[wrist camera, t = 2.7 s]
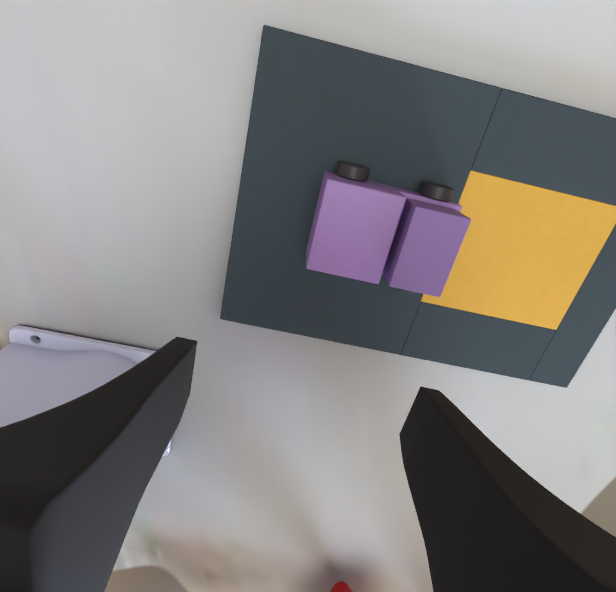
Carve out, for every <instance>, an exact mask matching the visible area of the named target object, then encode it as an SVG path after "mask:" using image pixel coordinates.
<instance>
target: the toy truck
mask: <svg viewBox="0 0 616 592" xmlns="http://www.w3.org/2000/svg"><path fill="white" fill-rule="evenodd" d="M369 173H370V169H369V168H368V167H365V166H362V165H358V164H355V163H350V162H346V161H338V163H337V167H336V172H335V173H334V172H330V171H325V172H324V175H323V180H322V184H321V188H320V193H319V197H318V201H317V205H316V210H315V214H314V218H313V223H312V227H311V231H310V236H309V240H308V244H307V249H306V268H307V269H309V270H314V271H316V272H318V273H320V274H323V275H327V276H342V277H347V278H352V279H356V280H361V281H366V282H370V283H375V284H379V282H380V279H381V275H382V274H383V275H384V277H385V279H386V281H387V283H388V285H389V286H390V287H393V288H395V289H397V290H400V291H402V292H407V293H416V292H418V293H423V294H427V295H432V296H437V297H440V296H441V294H442V291H443V289H444V287H445V284H446V282H447V279H448V277H449V274H450V272H451V269H452V267H453V264H454V262H455V259H456V257H457V254H458V252H459V249H460V247H461V244H462V242H463V239H464V237H465V234H466V232H467V229H468V227H469V224H470V222H471V219H470V218H469V217H467V216H465V215H464V214H462V213H460V211H461V209H462V206H461V205H459V204H458V203H456V202H454V201H452V200H451V199H452V197H453V194H454V191H455V189H453V188H451V187H448V186H445V185H442V184H438V183H434V182H429V181H423V182H422V184H421V187H420V190H419V192H415V191H411V190H406V189H402V188H398V187H394V186H389V185H385V184H381V183H377V182H372V181H368V176H369Z"/></svg>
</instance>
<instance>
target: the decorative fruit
mask: <svg viewBox="0 0 616 592" xmlns="http://www.w3.org/2000/svg"><path fill="white" fill-rule="evenodd" d="M331 592H352V591H351V589H350V588H349V586H348V585H347V584H346V583H345V582H341V581H340V582H337V583H336V584H335V585H334V586H333V588H332V590H331Z"/></svg>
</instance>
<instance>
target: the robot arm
mask: <svg viewBox="0 0 616 592" xmlns="http://www.w3.org/2000/svg"><path fill="white" fill-rule="evenodd" d="M36 336H38V337H39V338H40V340H39V339H37V338H36ZM9 342H10V343H9V344H8V345H6V346H5V347H4V348H2V349H1V350H0V592H104V591H105V588H106V586H107V583H108V580H109V578H110V575H111V573H112V570H113V567H114V565H115V562H116V560H117V557H118V554H119V552H120V549H121V547H122V544H123V541H124V539H125V536H126V534H127V531H128V529H129V526H130V524H131V521H132V519H133V516H134V514H135V511H136V509H137V506H138V504H139V502H140V500H141V497H142V495H143V493H144V491H145V489H146V487H147V485H148V483H149V481H150V479H151V477H152V475H153V473H154V471H155V469H156V467H157V465H158V463H159V461H160V459H161V458H162V457H164V456H167V455H168V453H169V451H170V447H171V438H172V436H173V434H174V432H175V430H176V428H177V426H178V424H179V422H180V419H181V417H182V414H183V411H184V408H185V406H186V403H187V400H188V397H189V395H190V389H191V382H192V375H193V367H194V360H195V353H196V346H197V341H195V340H190V339H185V338H180V337H176V338H175V339H173V340H172V341H170V342H169V343H167V344H166V345H164V346H163V347H162V348H160V349H159V350H157V351H153V350H148V349H143V348H137V347H132V346H127V345H122V344H116V343H111V342H106V341H100V340H95V339H90V338H84V337H79V336H74V335H69V334H63V333H58V332H53V331H47V330H42V329H37V328H31V327H26V326H21V325H17V326H14V327H13V328H12V329H10V331H9ZM400 442H401V451H402V457H403V464H404V468H405V472H406V476H407V479H408V483H409V487H410V491H411V494H412V498H413V501H414V505H415V509H416V512H417V516H418V519H419V523H420V527H421V530H422V534H423V538H424V542H425V547H426V551H427V556H428V562H429V568H430V574H431V579H432V585H433V591H434V592H616V537H614V536H613V535H611V534H609V533H608V532H606V531H605V530H603V529H602V528H600V527H599V526H597V525H596V524H594V523H593V522H591V521H590V520H588V519H587V518H586V517H584V516H583V515H581V514H580V513H578V512H577V511H576V510H574V509H573V508H571V507H570V506H568V505H567V504H566V503H564V502H563V501H562V500H560V499H559V498H557V497H556V496H555V495H553V494H552V493H551V492H550V491H548V490H547V489H546V488H545V487H543V486H542V485H541V484H539V483H538V482H537V481H536V480H534V479H533V478H532V477H531V476H529V475H528V474H527V473H526V472H525V471H524V470H522V469H521V468H520V467H519V466H518V465H517V464H515V463H514V462H513V461H512V460H511V459H510V458H509V457H508V456H507V455H505V454H504V453H503V452H502V451H501V450H500V449H499V448H498V447H497V446H496V445H495V444H494V443H492V442H491V441H490V440H489V439H488V438H487V437H486V436H485V435H484V434H483V433H482V432H481V431H480V430H479V429H478V428H477V427H476V426H475V425H474V424H473V423H472V422H471V421H470V420H469V419H468V418H467V417H466V416H465V415H464V414H463V413H462V412H461V411H460V410H459V409H458V408H457V407H456V406H455V405H454V404H453V403H452V402H451V401H450V400H449V399H448V398H447V397H446V396H445V395H443V394H442V393H441V392H440V391H439V390H434V389H429V388H425V387H420V389H419V391H418V394H417V396H416V398H415V400H414V403H413V405H412V407H411V410H410V412H409V414H408V416H407V419H406V421H405V423H404V425H403V428H402V430H401V432H400Z"/></svg>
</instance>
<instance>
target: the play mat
mask: <svg viewBox="0 0 616 592" xmlns="http://www.w3.org/2000/svg"><path fill="white" fill-rule="evenodd" d="M338 161H346V162H350V163H355V164H358V165H362V166H365V167H368V168H369V169H370V173H369V176H368V181H372V182H377V183H381V184H385V185H389V186H394V187H398V188H402V189H406V190H411V191H415V192H419V190H420V187H421V184H422V182H423V181H429V182H434V183H438V184H442V185H445V186H448V187H451V188H453V189H455V191H454V194H453V197H452V199H451V200H452V201H454V202H456V203H458V204H459V205H461V206H462V209H461V211H460V213H462V214H464V215H465V216H467V217H469V218H470V219H471V222H470V224H469V227H468V229H467V232H466V234H465V237H464V239H463V242H462V244H461V247H460V249H459V252H458V254H457V257H456V259H455V262H454V264H453V267H452V269H451V272H450V274H449V277H448V279H447V282H446V284H445V287H444V289H443V291H442V294H441V296H440V297H437V296H432V295H427V294H423V293H418V292H416V293H407V292H402V291H400V290H397V289H395V288H393V287H390V286H389V285H388V283H387V281H386V279H385V277H384V275H383V274H382V275H381V279H380V282H379V284H375V283H370V282H366V281H361V280H356V279H352V278H347V277H342V276H327V275H323V274H320V273H318V272H316V271H314V270H309V269H307V268H306V249H307V244H308V240H309V236H310V231H311V227H312V223H313V218H314V214H315V210H316V205H317V201H318V197H319V193H320V188H321V184H322V180H323V175H324V172H325V171H330V172H334V173H335V172H336V167H337V163H338ZM615 308H616V118H613V117H609V116H605V115H601V114H598V113H594V112H590V111H586V110H583V109H579V108H575V107H571V106H567V105H564V104H560V103H556V102H552V101H549V100H545V99H541V98H537V97H534V96H530V95H526V94H522V93H519V92H515V91H511V90H507V89H503V88H502V89H501V88H500V87H496V86H492V85H488V84H485V83H481V82H477V81H473V80H470V79H466V78H462V77H458V76H454V75H451V74H447V73H443V72H439V71H436V70H432V69H428V68H424V67H421V66H417V65H413V64H409V63H406V62H402V61H398V60H394V59H390V58H387V57H383V56H379V55H375V54H372V53H368V52H364V51H360V50H357V49H353V48H349V47H345V46H342V45H338V44H334V43H330V42H326V41H323V40H319V39H315V38H311V37H308V36H304V35H300V34H296V33H293V32H289V31H285V30H281V29H277V28H274V27H270V26H266V25H264V26H263V32H262V39H261V46H260V53H259V59H258V66H257V73H256V80H255V86H254V93H253V100H252V107H251V114H250V120H249V127H248V134H247V141H246V147H245V154H244V161H243V168H242V174H241V181H240V188H239V195H238V201H237V208H236V215H235V222H234V229H233V235H232V242H231V249H230V256H229V262H228V269H227V276H226V283H225V289H224V296H223V303H222V310H221V316H220V319H223V320H228V321H233V322H238V323H243V324H248V325H253V326H258V327H263V328H268V329H273V330H278V331H283V332H288V333H293V334H299V335H304V336H309V337H314V338H319V339H324V340H329V341H334V342H339V343H344V344H349V345H354V346H359V347H364V348H369V349H374V350H379V351H384V352H389V353H394V354H399V355H400V354H401V355H404V356H409V357H414V358H419V359H424V360H430V361H435V362H440V363H445V364H450V365H455V366H460V367H465V368H470V369H475V370H480V371H485V372H490V373H495V374H500V375H505V376H510V377H515V378H520V379H525V380H530V381H535V382H540V383H545V384H550V385H555V386H560V387H566V388H567V386H568V385H569V383H570V382H571V380H572V378H573V377H574V375H575V373H576V372H577V370H578V369H579V367H580V365H581V364H582V362H583V360H584V359H585V357H586V356H587V354H588V352H589V351H590V349H591V347H592V346H593V344H594V343H595V341H596V339H597V338H598V336H599V334H600V333H601V331H602V330H603V328H604V326H605V325H606V323H607V321H608V320H609V318H610V317H611V315H612V313H613V312H614V310H615Z"/></svg>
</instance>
